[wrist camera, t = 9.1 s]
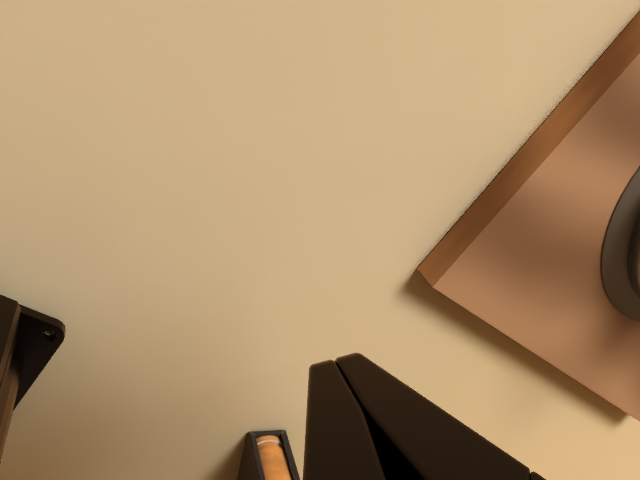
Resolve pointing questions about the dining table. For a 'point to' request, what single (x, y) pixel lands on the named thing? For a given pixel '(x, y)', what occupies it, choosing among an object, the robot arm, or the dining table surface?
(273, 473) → the ammunition clip
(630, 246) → the dial knob
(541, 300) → the dial plate
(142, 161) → the dining table surface
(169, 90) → the dining table surface
